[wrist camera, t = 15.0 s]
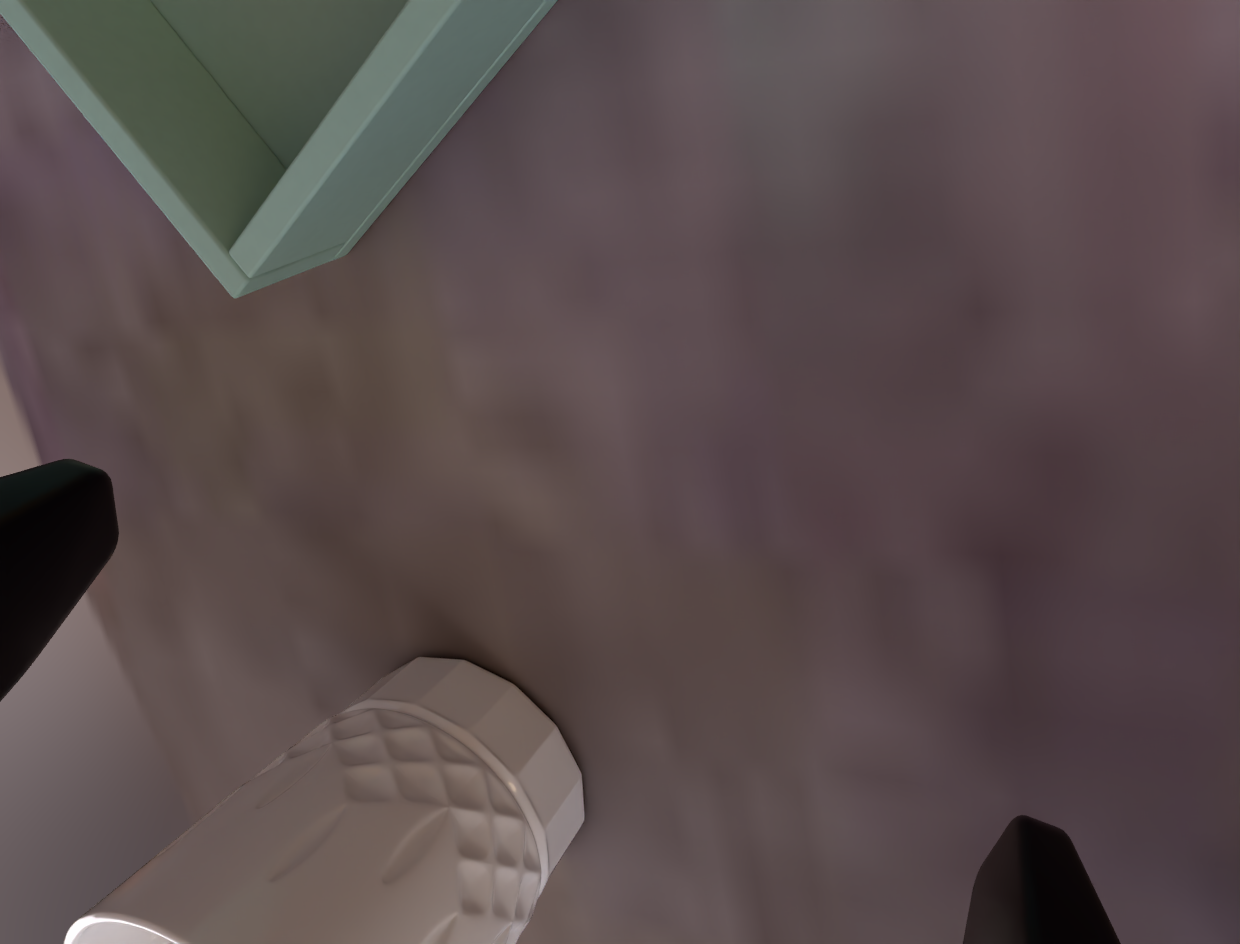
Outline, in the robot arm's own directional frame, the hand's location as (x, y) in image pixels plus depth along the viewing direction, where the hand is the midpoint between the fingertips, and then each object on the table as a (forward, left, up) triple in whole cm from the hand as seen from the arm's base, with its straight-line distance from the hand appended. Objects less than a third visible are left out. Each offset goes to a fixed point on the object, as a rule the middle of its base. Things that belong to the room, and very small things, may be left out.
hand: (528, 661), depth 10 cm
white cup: (+2, +17, -12) cm, 21 cm away
